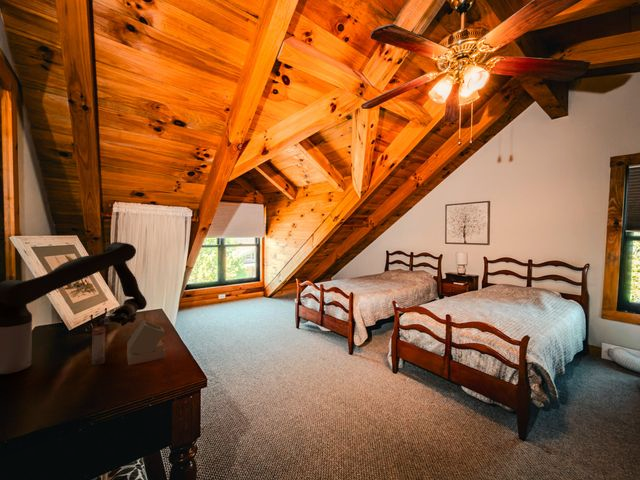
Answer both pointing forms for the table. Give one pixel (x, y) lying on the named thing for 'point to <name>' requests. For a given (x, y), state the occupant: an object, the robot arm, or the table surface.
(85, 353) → the table surface
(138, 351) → the socket
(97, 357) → the peg
